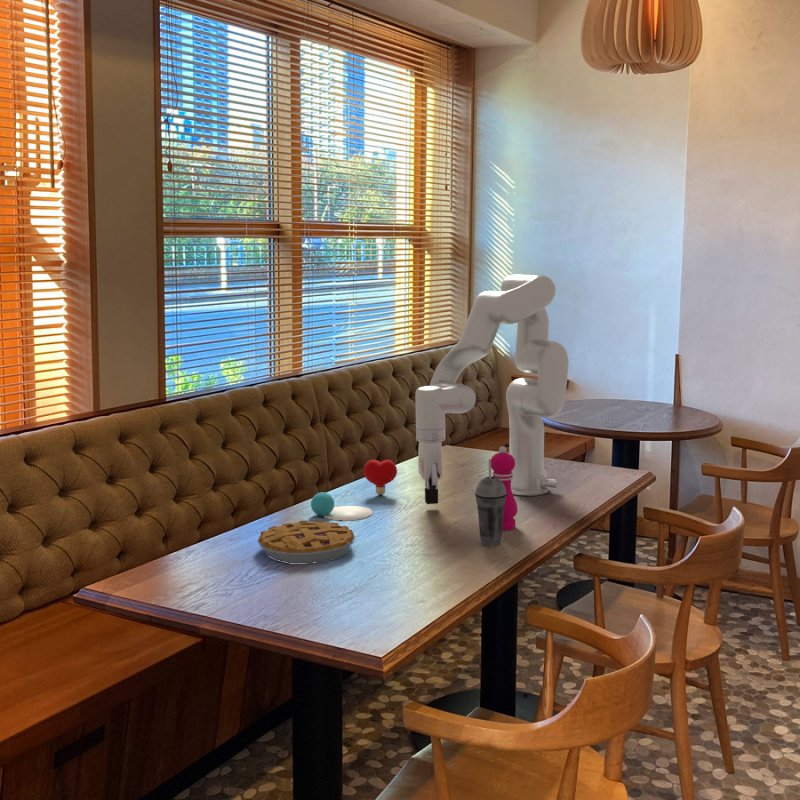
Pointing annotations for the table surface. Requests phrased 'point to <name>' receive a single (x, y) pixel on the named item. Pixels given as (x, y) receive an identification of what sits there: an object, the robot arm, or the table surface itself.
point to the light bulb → (380, 474)
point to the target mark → (349, 513)
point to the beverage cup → (490, 508)
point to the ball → (322, 504)
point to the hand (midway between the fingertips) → (431, 502)
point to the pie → (306, 541)
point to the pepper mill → (505, 484)
